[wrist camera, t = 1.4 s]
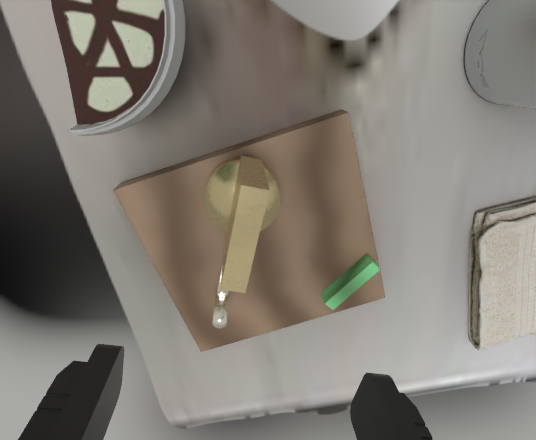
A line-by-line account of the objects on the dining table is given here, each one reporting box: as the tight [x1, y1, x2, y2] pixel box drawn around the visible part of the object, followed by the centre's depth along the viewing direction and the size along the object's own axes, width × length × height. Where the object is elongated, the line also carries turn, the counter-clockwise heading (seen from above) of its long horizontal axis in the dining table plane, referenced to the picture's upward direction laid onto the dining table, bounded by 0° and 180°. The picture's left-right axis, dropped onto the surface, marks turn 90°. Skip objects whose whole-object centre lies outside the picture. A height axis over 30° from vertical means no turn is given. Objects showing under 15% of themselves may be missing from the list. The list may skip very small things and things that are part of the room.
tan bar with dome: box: [204, 156, 281, 328], centre depth 25 cm, size 15×6×9 cm, turn 168°
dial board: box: [113, 110, 385, 352], centre depth 31 cm, size 20×19×4 cm
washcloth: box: [468, 196, 536, 350], centre depth 35 cm, size 12×18×3 cm, turn 15°
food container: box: [51, 0, 185, 136], centre depth 20 cm, size 12×6×10 cm, turn 178°
